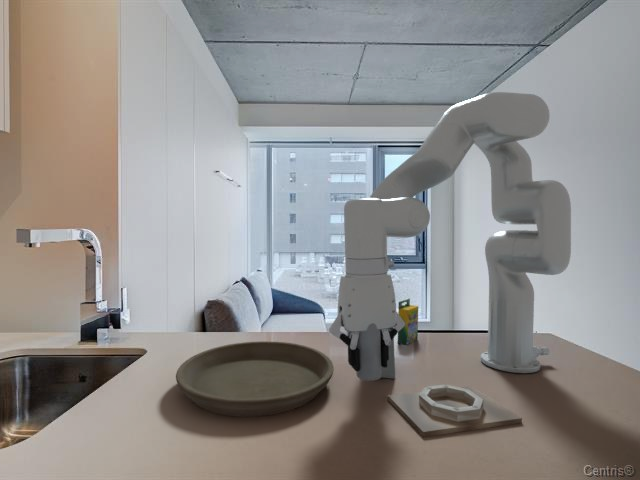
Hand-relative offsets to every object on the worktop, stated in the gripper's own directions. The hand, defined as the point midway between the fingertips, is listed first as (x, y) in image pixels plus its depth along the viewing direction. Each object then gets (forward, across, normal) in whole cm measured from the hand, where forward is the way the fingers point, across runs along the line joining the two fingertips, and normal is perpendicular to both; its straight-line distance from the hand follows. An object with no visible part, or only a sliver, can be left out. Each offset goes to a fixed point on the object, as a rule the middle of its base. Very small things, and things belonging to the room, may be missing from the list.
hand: (368, 365), depth 69 cm
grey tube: (+2, 0, 0) cm, 2 cm away
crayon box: (+8, -25, -33) cm, 42 cm away
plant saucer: (+7, +19, -13) cm, 24 cm away
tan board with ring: (+7, -13, +6) cm, 16 cm away
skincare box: (+8, -8, -14) cm, 17 cm away
